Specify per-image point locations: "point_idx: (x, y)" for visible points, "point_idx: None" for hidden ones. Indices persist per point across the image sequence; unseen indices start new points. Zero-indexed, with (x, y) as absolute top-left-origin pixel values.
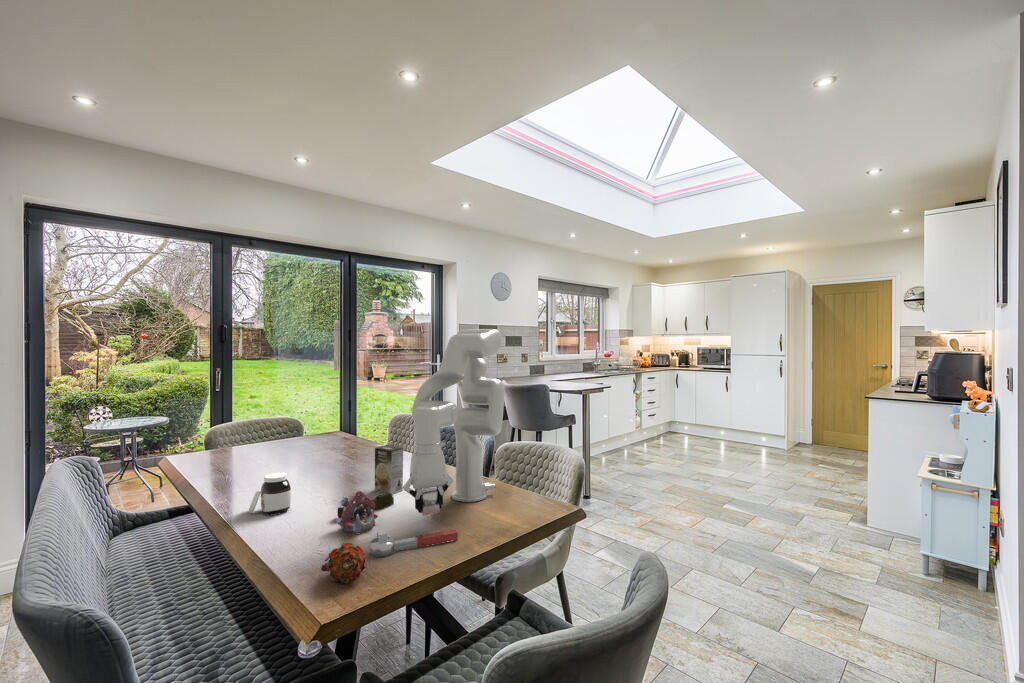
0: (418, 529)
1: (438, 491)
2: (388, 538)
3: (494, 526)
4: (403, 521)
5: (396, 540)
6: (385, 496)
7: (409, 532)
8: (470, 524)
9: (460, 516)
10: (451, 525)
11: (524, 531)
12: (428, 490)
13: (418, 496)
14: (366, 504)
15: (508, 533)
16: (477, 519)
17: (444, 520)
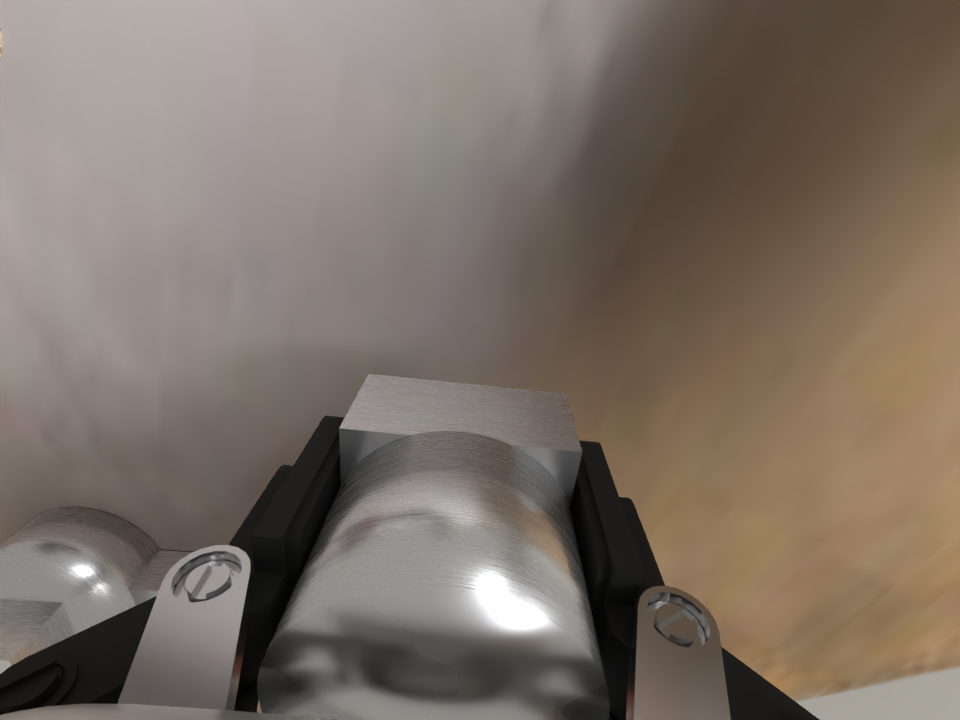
0: (380, 354)
1: (618, 674)
2: (81, 604)
3: (866, 549)
4: (288, 91)
5: (154, 592)
6: None
7: (300, 374)
8: (765, 453)
9: (817, 263)
10: (639, 405)
11: (933, 666)
12: (434, 694)
13: (239, 692)
14: None
15: (846, 652)
16: (875, 395)
17: (647, 280)
